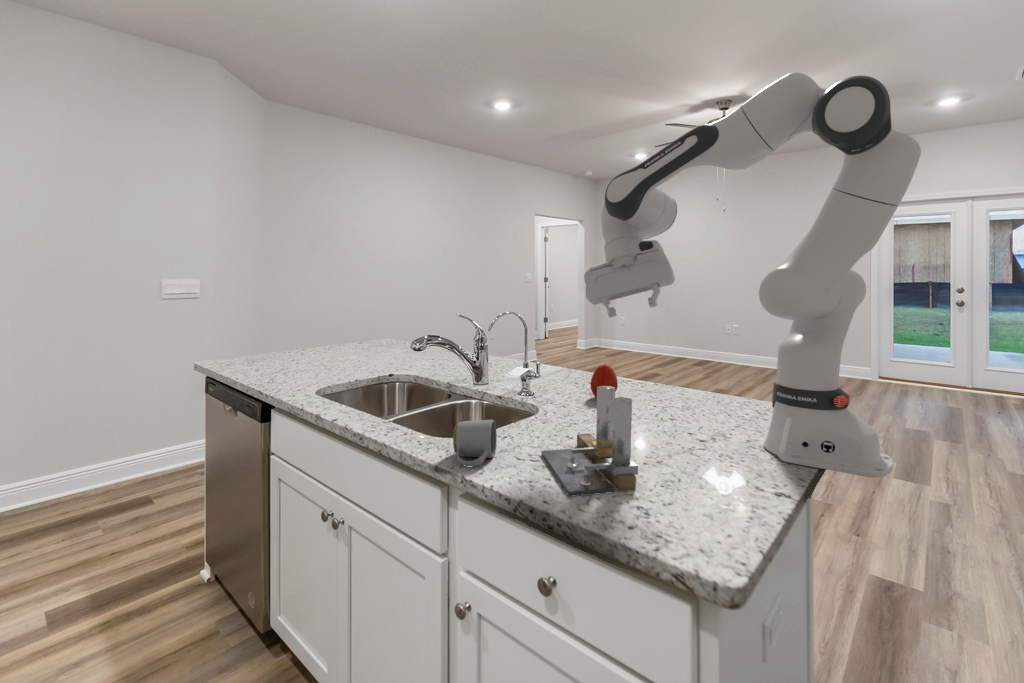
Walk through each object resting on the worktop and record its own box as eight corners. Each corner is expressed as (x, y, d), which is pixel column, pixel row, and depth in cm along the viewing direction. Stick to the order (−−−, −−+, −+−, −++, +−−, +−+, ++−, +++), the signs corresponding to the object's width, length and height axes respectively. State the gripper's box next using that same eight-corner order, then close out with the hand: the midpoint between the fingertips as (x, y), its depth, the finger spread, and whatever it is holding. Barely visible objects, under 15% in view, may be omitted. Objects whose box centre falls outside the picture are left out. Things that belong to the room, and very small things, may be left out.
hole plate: (541, 454, 103) (541, 450, 103) (578, 451, 104) (578, 447, 104) (569, 496, 84) (569, 490, 83) (613, 492, 85) (613, 487, 85)
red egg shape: (622, 401, 146) (623, 365, 145) (596, 402, 145) (597, 366, 143) (610, 394, 154) (611, 360, 153) (586, 396, 153) (586, 362, 151)
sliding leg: (567, 459, 97) (567, 386, 95) (610, 455, 98) (611, 384, 96) (574, 467, 93) (574, 392, 91) (618, 464, 94) (620, 389, 92)
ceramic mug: (460, 448, 107) (459, 414, 106) (497, 449, 106) (496, 415, 105) (448, 468, 97) (447, 430, 95) (489, 469, 96) (489, 431, 94)
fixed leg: (579, 475, 89) (580, 398, 87) (627, 471, 91) (629, 396, 89) (587, 485, 85) (589, 404, 83) (637, 481, 86) (639, 402, 84)
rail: (576, 445, 109) (577, 434, 108) (589, 444, 109) (590, 433, 109) (619, 491, 85) (619, 478, 85) (635, 490, 86) (635, 476, 85)
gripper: (578, 264, 118) (584, 317, 113) (664, 238, 109) (674, 294, 104) (588, 275, 123) (594, 326, 118) (671, 251, 114) (681, 305, 109)
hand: (632, 311), depth 111 cm, fingers open, 8 cm apart
